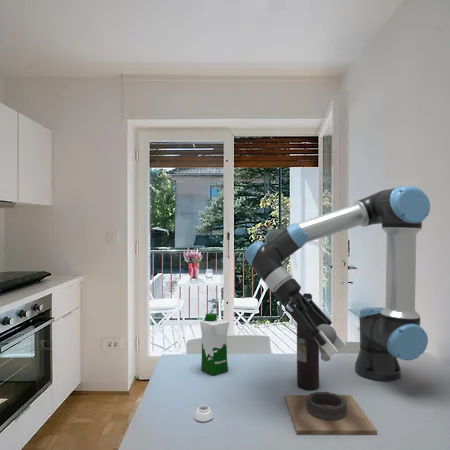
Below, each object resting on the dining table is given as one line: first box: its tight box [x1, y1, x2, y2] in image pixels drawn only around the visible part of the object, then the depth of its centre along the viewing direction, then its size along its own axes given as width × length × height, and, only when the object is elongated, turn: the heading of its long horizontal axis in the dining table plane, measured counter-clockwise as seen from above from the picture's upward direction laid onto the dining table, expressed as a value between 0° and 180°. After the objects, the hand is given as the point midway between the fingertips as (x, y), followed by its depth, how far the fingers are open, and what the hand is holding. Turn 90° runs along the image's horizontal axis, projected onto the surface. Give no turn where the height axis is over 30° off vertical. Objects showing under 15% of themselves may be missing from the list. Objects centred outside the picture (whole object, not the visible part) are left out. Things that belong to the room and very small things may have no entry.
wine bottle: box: [296, 292, 320, 391], centre depth 122 cm, size 7×7×30 cm
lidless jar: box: [193, 404, 214, 423], centre depth 102 cm, size 5×3×5 cm
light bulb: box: [316, 324, 337, 362], centre depth 104 cm, size 6×6×10 cm
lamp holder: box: [284, 391, 378, 435], centre depth 103 cm, size 20×20×4 cm
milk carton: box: [199, 312, 230, 377], centre depth 136 cm, size 9×9×20 cm
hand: (338, 350), depth 101 cm, fingers closed on light bulb, 6 cm apart
